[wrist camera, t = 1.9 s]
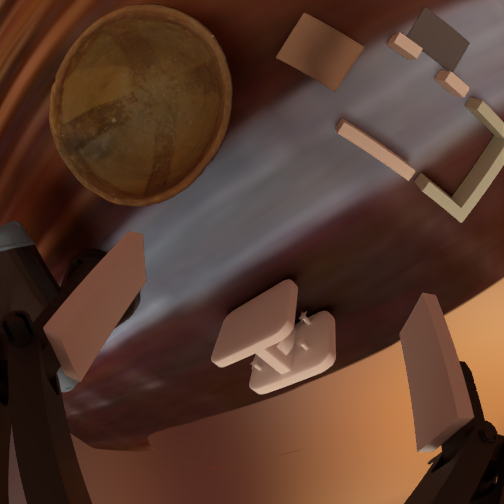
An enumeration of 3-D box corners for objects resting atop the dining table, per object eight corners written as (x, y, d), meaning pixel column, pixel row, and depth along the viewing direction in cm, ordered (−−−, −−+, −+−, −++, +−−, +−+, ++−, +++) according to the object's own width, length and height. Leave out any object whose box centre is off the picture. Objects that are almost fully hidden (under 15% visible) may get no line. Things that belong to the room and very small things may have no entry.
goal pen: (414, 181, 36) (422, 191, 33) (469, 97, 29) (482, 100, 26) (452, 211, 37) (461, 223, 34) (505, 133, 30) (519, 140, 27)
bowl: (78, 57, 34) (29, 63, 26) (229, -6, 28) (202, -28, 20) (118, 191, 45) (80, 221, 36) (269, 159, 39) (256, 187, 30)
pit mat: (404, 38, 28) (405, 38, 27) (423, 7, 25) (425, 6, 24) (449, 73, 28) (451, 73, 28) (467, 43, 25) (469, 42, 25)
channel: (335, 127, 35) (337, 133, 32) (392, 35, 27) (400, 32, 25) (401, 171, 36) (408, 181, 33) (457, 85, 29) (469, 88, 26)
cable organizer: (296, 268, 46) (290, 324, 37) (336, 312, 49) (338, 369, 40) (225, 311, 53) (206, 364, 44) (266, 347, 56) (255, 400, 47)
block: (279, 59, 32) (275, 57, 28) (304, 19, 29) (304, 12, 25) (332, 89, 33) (335, 91, 29) (358, 50, 30) (364, 47, 26)
